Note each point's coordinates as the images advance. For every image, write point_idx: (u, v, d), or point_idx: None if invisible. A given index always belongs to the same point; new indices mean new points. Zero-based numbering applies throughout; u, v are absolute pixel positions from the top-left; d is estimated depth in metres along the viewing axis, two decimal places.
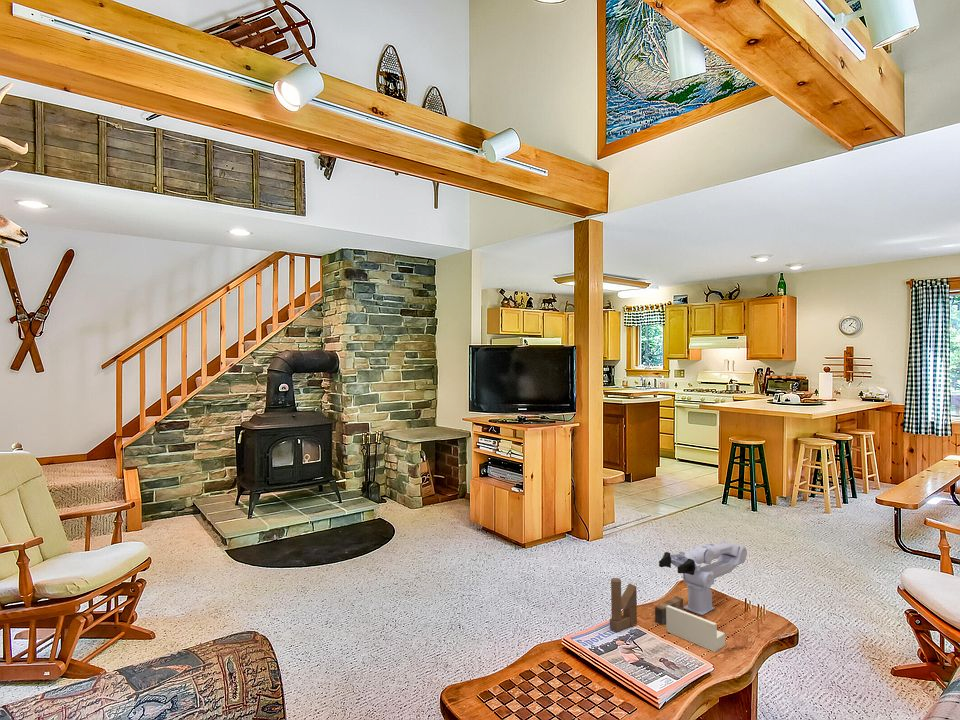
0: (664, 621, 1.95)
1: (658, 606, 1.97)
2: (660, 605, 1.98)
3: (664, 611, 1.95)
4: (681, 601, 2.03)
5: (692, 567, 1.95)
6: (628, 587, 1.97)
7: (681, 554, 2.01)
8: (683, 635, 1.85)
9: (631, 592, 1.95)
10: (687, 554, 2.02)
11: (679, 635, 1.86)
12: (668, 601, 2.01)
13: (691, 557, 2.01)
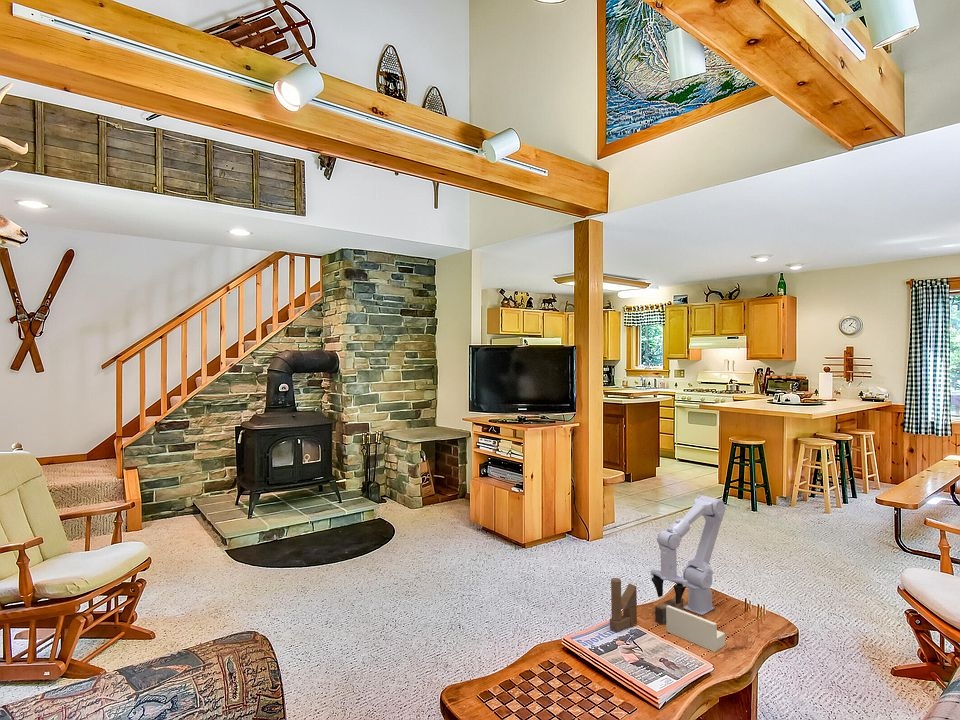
0: (664, 621, 1.95)
1: (658, 606, 1.97)
2: (660, 604, 1.98)
3: (664, 611, 1.96)
4: (681, 601, 2.03)
5: None
6: (628, 587, 1.97)
7: None
8: (683, 635, 1.85)
9: (631, 592, 1.95)
10: (666, 572, 1.98)
11: (679, 635, 1.86)
12: (669, 601, 2.01)
13: (671, 571, 1.97)
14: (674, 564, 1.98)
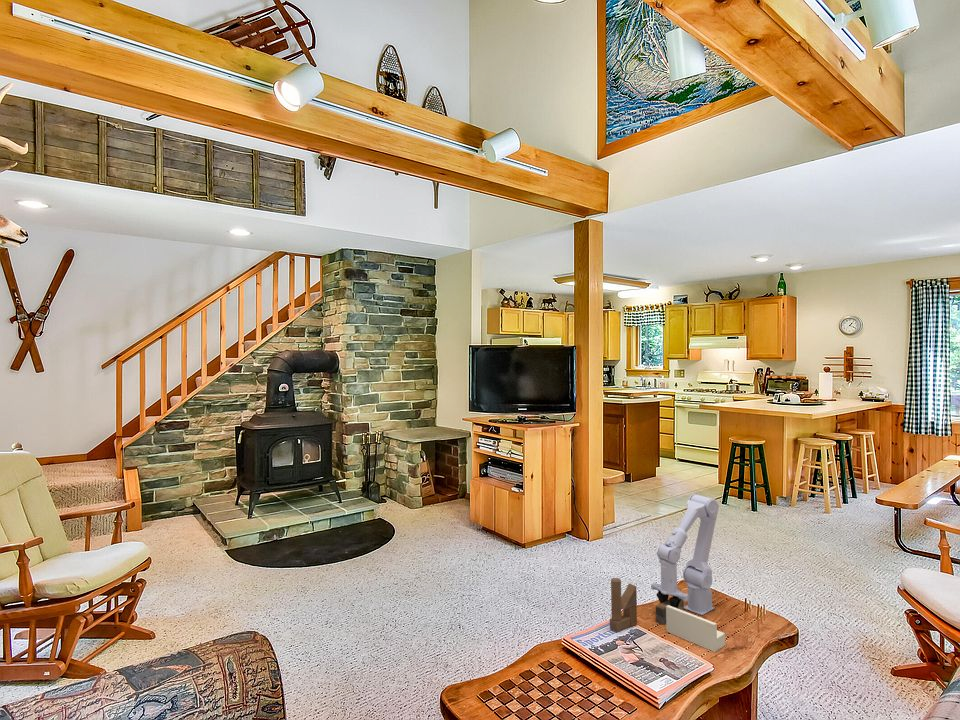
0: (665, 621, 1.95)
1: (659, 606, 1.97)
2: (660, 604, 1.98)
3: (665, 611, 1.96)
4: (682, 601, 2.03)
5: None
6: (628, 587, 1.97)
7: None
8: (683, 635, 1.85)
9: (631, 592, 1.95)
10: (667, 587, 1.98)
11: (679, 635, 1.86)
12: (669, 601, 2.01)
13: (671, 585, 1.97)
14: (674, 578, 1.98)
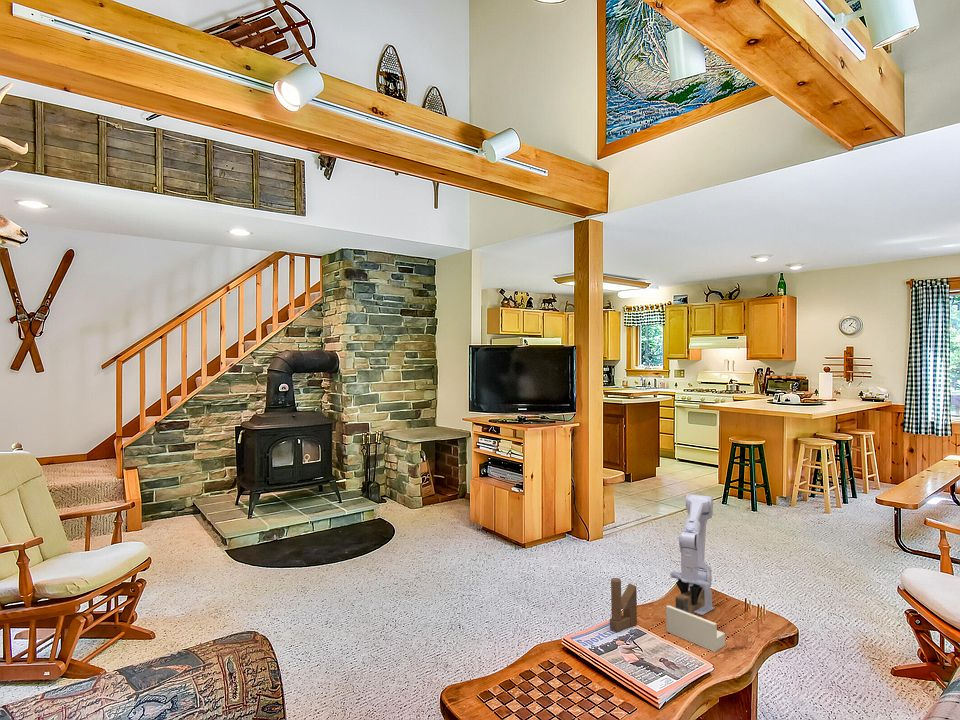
0: None
1: (679, 597, 1.90)
2: (680, 595, 1.92)
3: (685, 602, 1.89)
4: (702, 592, 1.96)
5: None
6: (628, 587, 1.97)
7: None
8: (683, 635, 1.85)
9: (631, 592, 1.95)
10: (687, 574, 1.91)
11: (679, 635, 1.86)
12: (689, 592, 1.94)
13: (692, 573, 1.91)
14: (697, 565, 1.92)
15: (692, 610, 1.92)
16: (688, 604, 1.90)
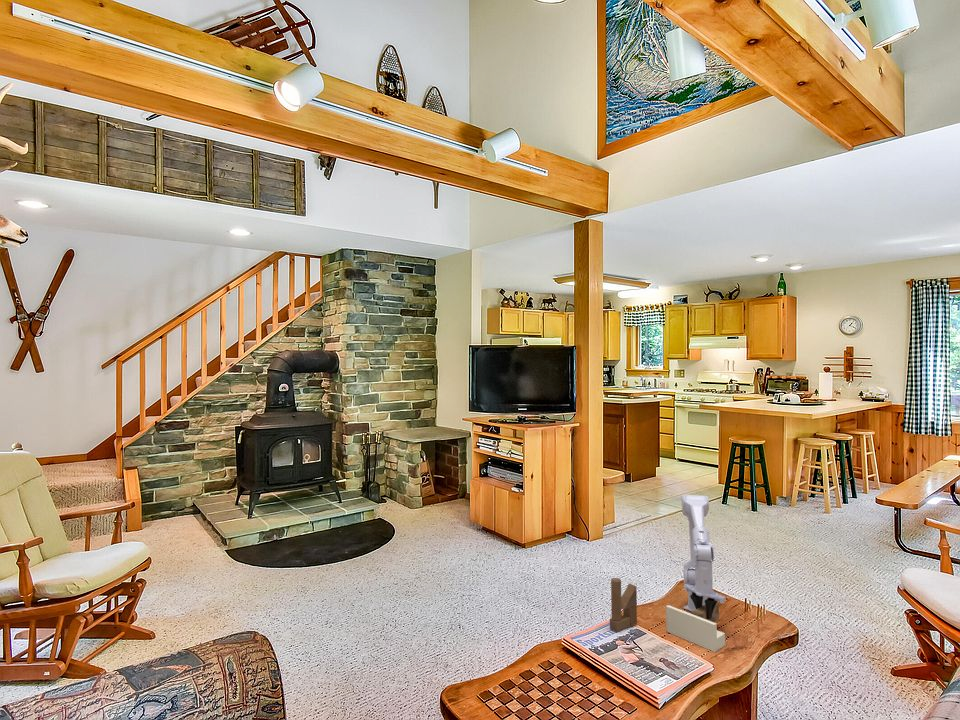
0: None
1: (694, 612, 1.86)
2: (695, 610, 1.87)
3: None
4: (717, 606, 1.92)
5: None
6: (628, 587, 1.97)
7: None
8: (683, 635, 1.85)
9: (631, 592, 1.95)
10: (702, 588, 1.87)
11: (679, 635, 1.86)
12: (704, 606, 1.90)
13: (707, 587, 1.86)
14: None
15: None
16: None
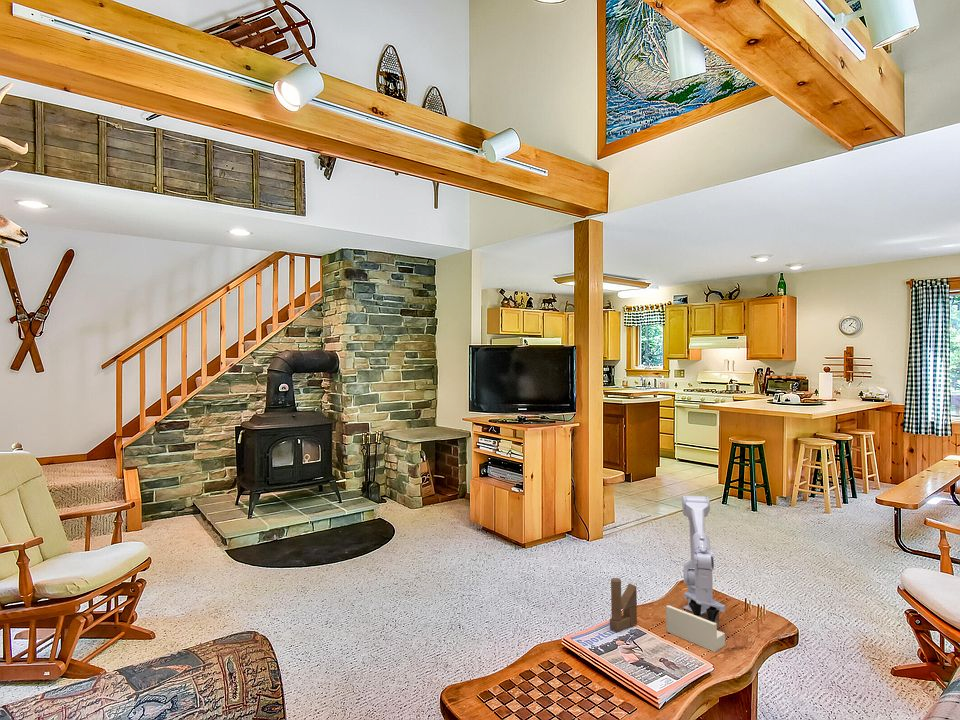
0: None
1: None
2: None
3: None
4: (717, 614, 1.92)
5: None
6: (628, 587, 1.97)
7: None
8: (683, 635, 1.85)
9: (631, 592, 1.95)
10: (702, 596, 1.87)
11: (679, 635, 1.86)
12: (704, 614, 1.90)
13: (707, 595, 1.86)
14: None
15: None
16: None
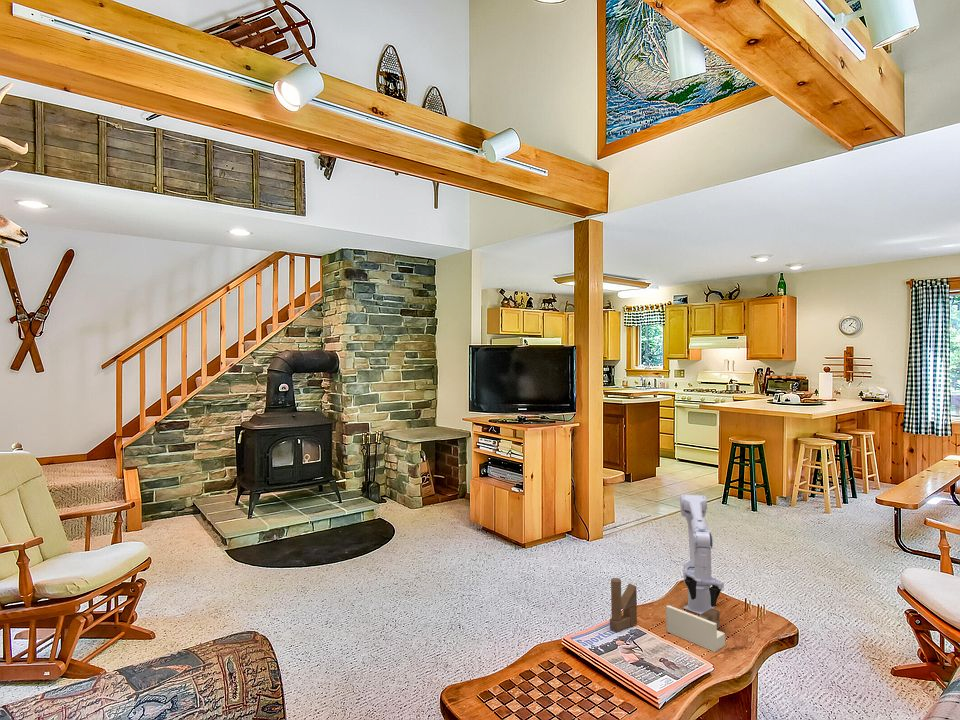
0: None
1: None
2: None
3: None
4: (718, 614, 1.92)
5: None
6: (628, 587, 1.97)
7: None
8: (683, 635, 1.85)
9: (631, 592, 1.95)
10: (701, 574, 1.90)
11: (679, 635, 1.86)
12: (705, 614, 1.90)
13: (705, 573, 1.90)
14: None
15: None
16: None
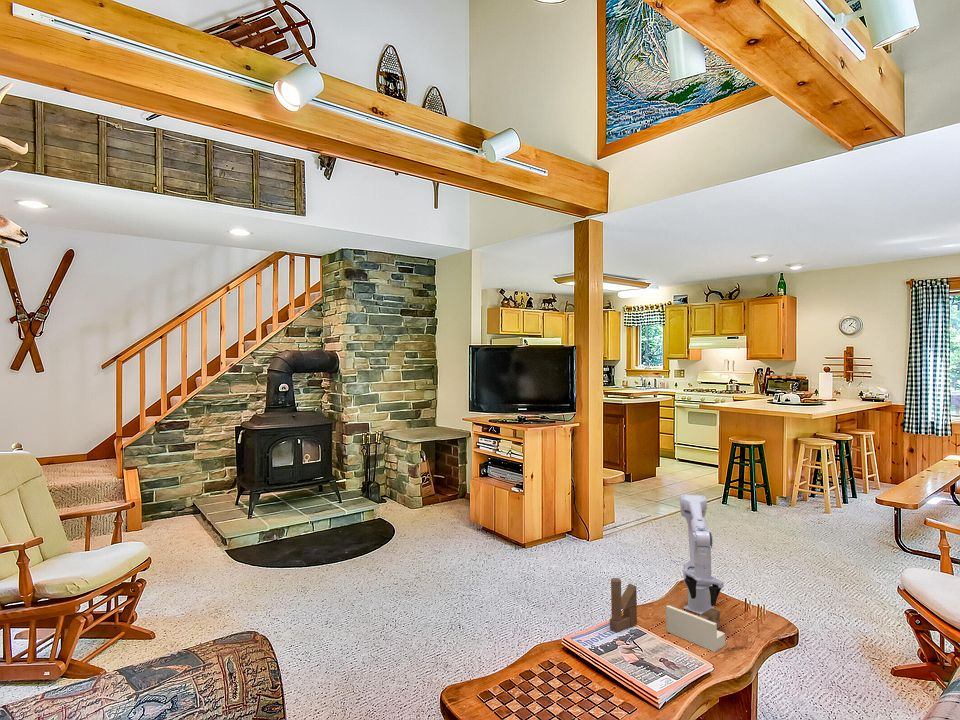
0: None
1: None
2: None
3: None
4: (718, 613, 1.92)
5: None
6: (628, 587, 1.97)
7: None
8: (683, 635, 1.85)
9: (631, 592, 1.95)
10: (701, 573, 1.90)
11: (679, 635, 1.86)
12: (705, 614, 1.90)
13: (705, 572, 1.90)
14: None
15: None
16: None
